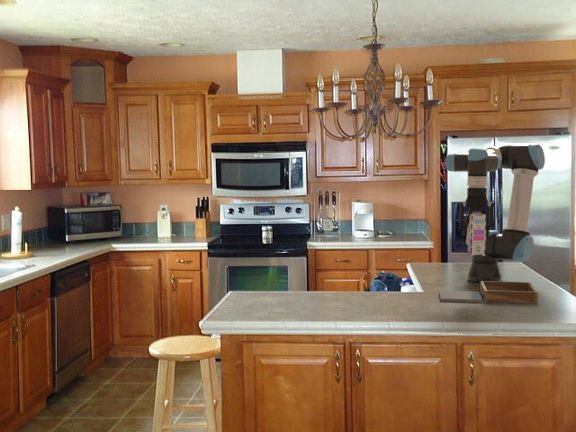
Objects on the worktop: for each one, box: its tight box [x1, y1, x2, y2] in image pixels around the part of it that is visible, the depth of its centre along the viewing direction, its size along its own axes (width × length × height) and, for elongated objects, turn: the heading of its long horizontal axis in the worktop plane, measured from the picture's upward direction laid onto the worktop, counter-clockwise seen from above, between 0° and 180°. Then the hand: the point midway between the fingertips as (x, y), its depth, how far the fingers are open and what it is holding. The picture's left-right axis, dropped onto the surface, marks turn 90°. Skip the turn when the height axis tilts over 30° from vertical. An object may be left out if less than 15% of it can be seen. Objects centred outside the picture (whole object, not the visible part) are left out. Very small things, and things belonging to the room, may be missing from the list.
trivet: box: [439, 289, 483, 304], centre depth 265 cm, size 16×16×1 cm
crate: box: [479, 281, 539, 304], centre depth 265 cm, size 20×20×4 cm
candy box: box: [467, 212, 487, 257], centre depth 263 cm, size 14×6×16 cm, turn 170°
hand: (476, 244), depth 263 cm, fingers closed on candy box, 6 cm apart
